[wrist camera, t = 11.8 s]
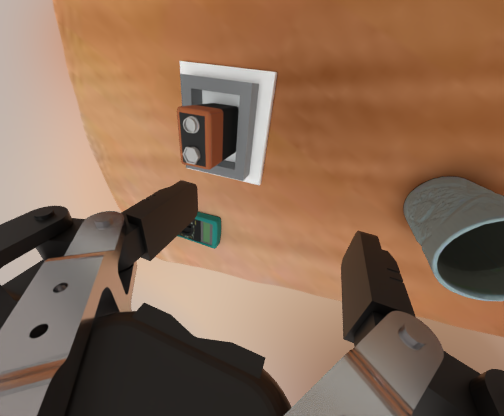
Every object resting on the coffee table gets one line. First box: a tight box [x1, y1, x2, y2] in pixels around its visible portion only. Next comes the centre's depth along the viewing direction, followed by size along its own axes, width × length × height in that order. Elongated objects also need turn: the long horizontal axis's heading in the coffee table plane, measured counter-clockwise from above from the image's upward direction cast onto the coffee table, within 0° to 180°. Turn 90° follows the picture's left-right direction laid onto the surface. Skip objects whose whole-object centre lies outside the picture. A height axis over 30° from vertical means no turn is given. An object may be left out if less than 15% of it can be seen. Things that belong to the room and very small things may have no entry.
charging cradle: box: [180, 61, 277, 185], centre depth 31 cm, size 16×14×4 cm
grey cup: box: [404, 177, 504, 301], centre depth 24 cm, size 10×10×12 cm
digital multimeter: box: [177, 212, 221, 249], centre depth 45 cm, size 7×15×3 cm, turn 83°
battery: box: [177, 103, 239, 170], centre depth 27 cm, size 4×7×10 cm, turn 174°
